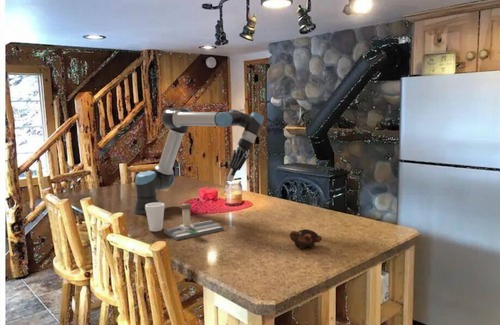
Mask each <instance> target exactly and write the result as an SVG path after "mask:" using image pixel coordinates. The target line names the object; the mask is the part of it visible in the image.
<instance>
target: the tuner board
mask: <svg viewBox="0 0 500 325" xmlns="http://www.w3.org/2000/svg"><path fill="white" fill-rule="evenodd" d="M190 224H191V225H193V226H194V230H195V231H193V230H191V229H189V230H184V231H182V230H181V229H180V227H179V226H176V227H171V228H167V229H164V230H163V233H164V234H165V235H167V236H168V237H170V238H171V237H172V238H171V239H173V240H174V241H178V240H179V239H180V240H185V239H189V238H194V237H198V236H202V235H207V234H211V233H216V232H220V231H224V228H225V227H224V226H222V225H220V223H215V222H213V220H212V219H211V220H207V221H202V222H196V223H190ZM184 238H185V239H184ZM180 240H179V241H180Z"/></svg>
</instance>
